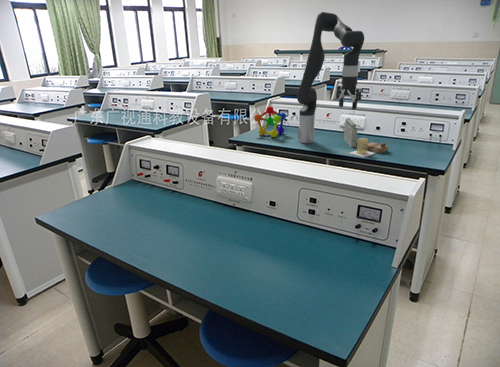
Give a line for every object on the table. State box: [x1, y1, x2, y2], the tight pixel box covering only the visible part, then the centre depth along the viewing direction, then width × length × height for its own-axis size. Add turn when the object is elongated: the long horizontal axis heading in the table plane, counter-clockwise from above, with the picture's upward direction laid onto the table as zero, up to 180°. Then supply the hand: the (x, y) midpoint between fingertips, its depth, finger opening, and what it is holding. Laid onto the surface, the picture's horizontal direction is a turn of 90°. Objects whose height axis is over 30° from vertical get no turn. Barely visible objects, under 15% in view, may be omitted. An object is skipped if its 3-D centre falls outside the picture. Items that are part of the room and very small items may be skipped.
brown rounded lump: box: [367, 141, 389, 155], centre depth 205 cm, size 12×7×5 cm, turn 35°
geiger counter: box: [342, 117, 358, 148], centre depth 222 cm, size 14×6×25 cm
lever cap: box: [356, 137, 369, 154], centre depth 199 cm, size 4×4×8 cm
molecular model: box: [253, 105, 287, 138], centre depth 246 cm, size 21×15×20 cm
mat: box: [348, 149, 376, 159], centre depth 200 cm, size 10×10×1 cm
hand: (347, 108), depth 183 cm, fingers open, 8 cm apart
